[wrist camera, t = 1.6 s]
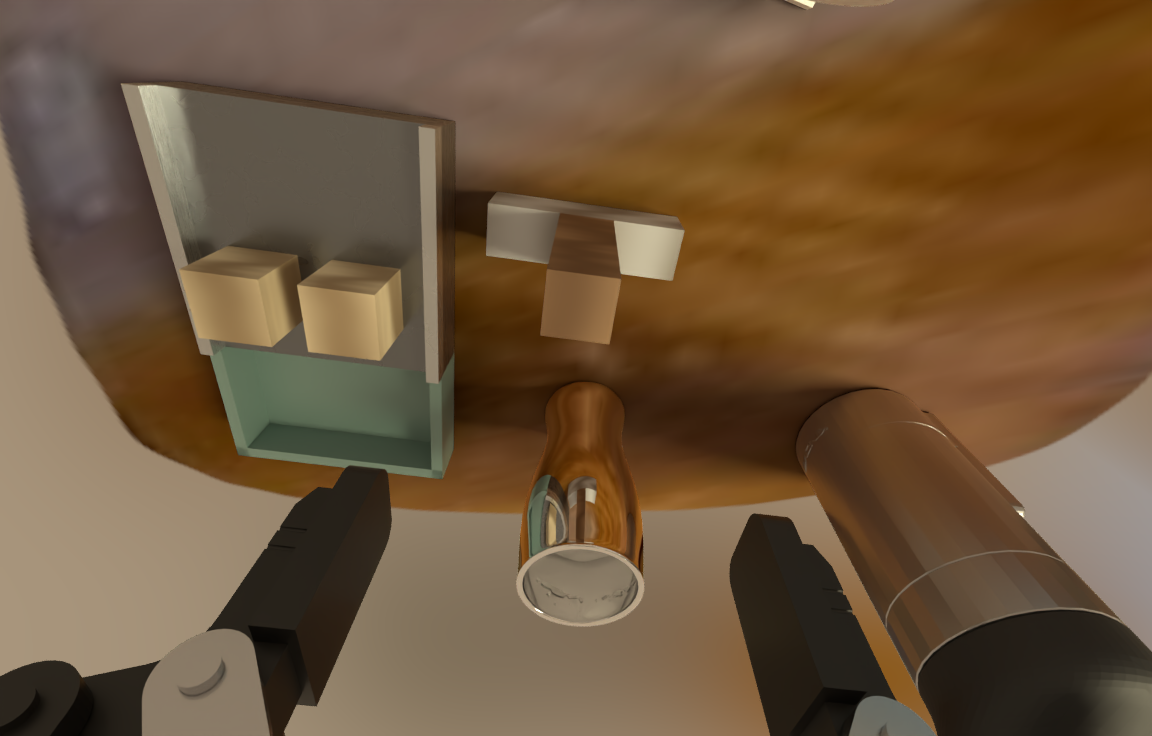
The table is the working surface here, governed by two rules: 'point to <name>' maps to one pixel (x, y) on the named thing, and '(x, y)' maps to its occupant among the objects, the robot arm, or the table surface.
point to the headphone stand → (839, 3)
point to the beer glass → (582, 515)
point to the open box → (308, 197)
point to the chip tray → (337, 412)
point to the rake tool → (582, 256)
